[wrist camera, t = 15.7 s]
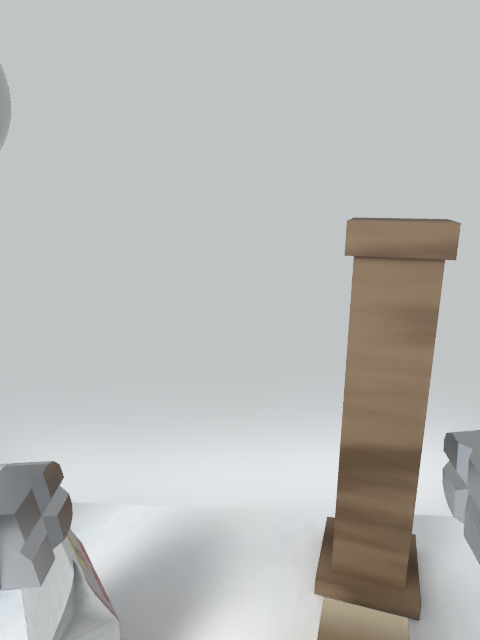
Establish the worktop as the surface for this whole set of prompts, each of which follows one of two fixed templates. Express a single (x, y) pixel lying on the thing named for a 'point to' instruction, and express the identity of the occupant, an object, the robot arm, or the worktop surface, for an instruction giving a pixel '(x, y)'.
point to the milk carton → (70, 600)
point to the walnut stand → (385, 410)
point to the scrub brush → (359, 623)
